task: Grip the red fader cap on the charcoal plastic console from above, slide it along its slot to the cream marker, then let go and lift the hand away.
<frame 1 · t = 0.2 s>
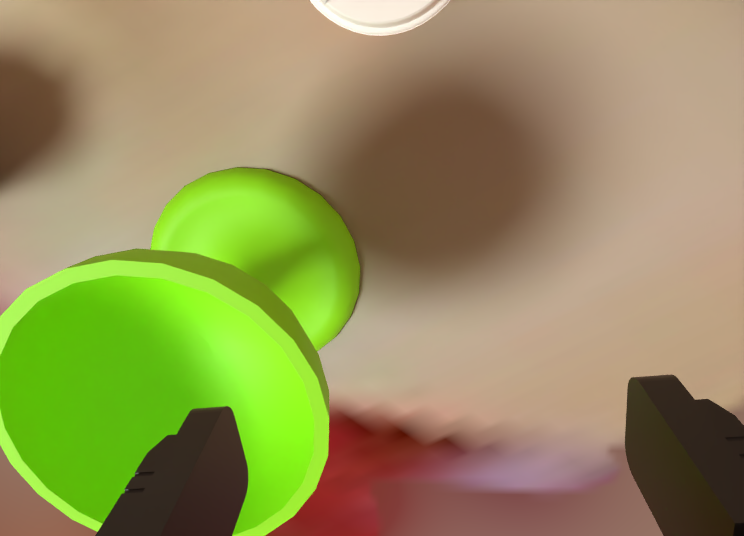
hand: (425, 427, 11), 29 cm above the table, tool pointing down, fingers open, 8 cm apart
wineglass: (255, 271, 42), on the table
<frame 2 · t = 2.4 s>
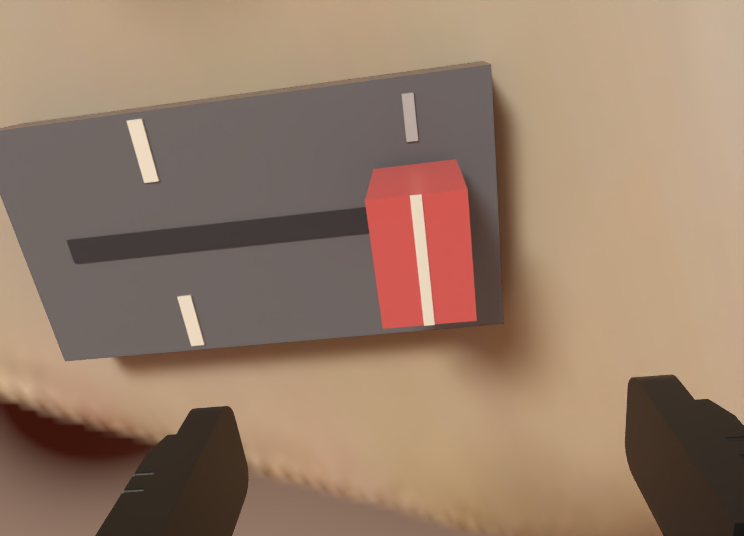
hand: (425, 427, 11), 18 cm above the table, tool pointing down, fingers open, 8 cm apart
fader: (421, 237, 22), point 6 cm above the table, slide at 0.0 cm
console: (265, 213, 29), on the table
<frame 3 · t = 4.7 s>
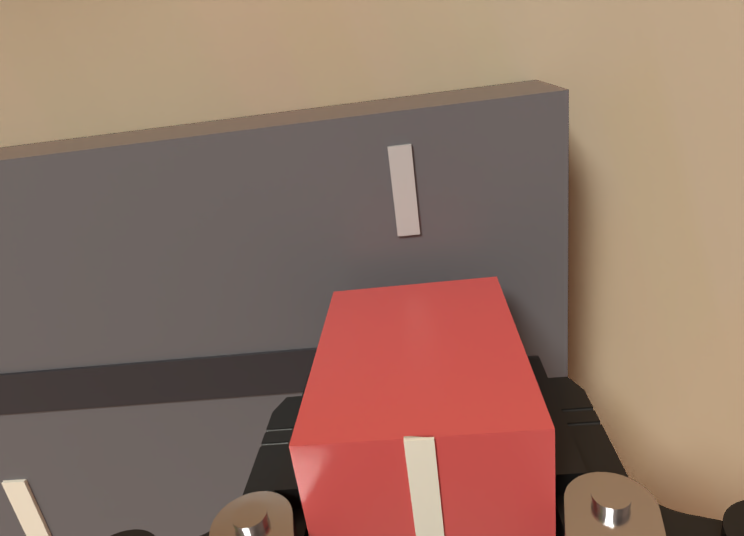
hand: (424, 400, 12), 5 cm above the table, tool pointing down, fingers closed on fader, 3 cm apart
fader: (428, 448, 11), point 6 cm above the table, slide at 0.0 cm, touching gripper
console: (162, 329, 17), on the table
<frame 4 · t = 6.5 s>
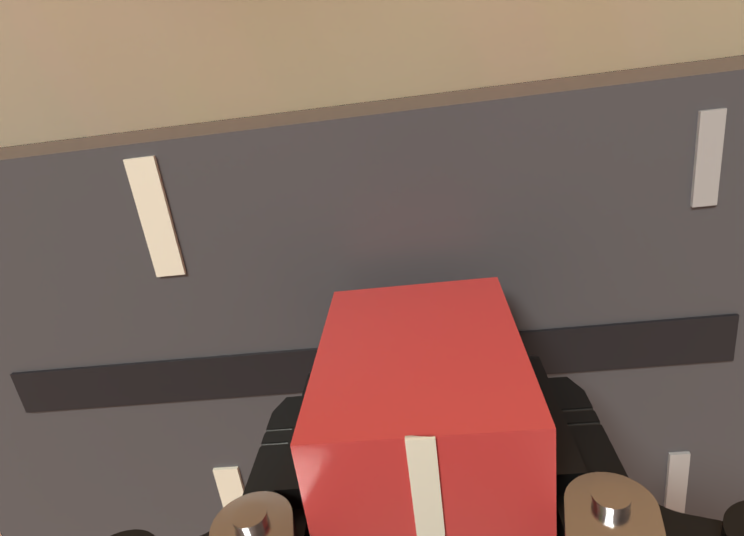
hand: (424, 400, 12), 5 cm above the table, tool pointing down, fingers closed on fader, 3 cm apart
fader: (428, 448, 11), point 6 cm above the table, slide at 6.3 cm, touching gripper
console: (363, 312, 17), on the table
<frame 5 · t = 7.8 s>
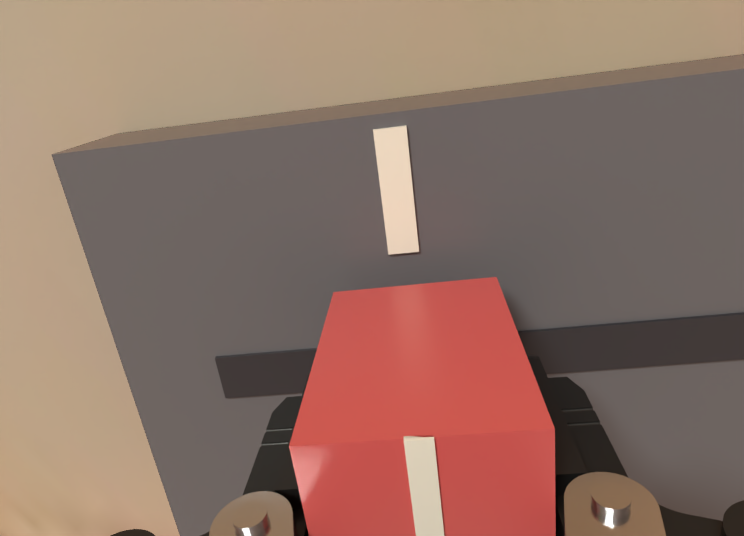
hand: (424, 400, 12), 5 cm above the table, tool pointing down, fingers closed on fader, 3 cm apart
fader: (428, 448, 11), point 6 cm above the table, slide at 11.8 cm, touching gripper
console: (552, 295, 16), on the table
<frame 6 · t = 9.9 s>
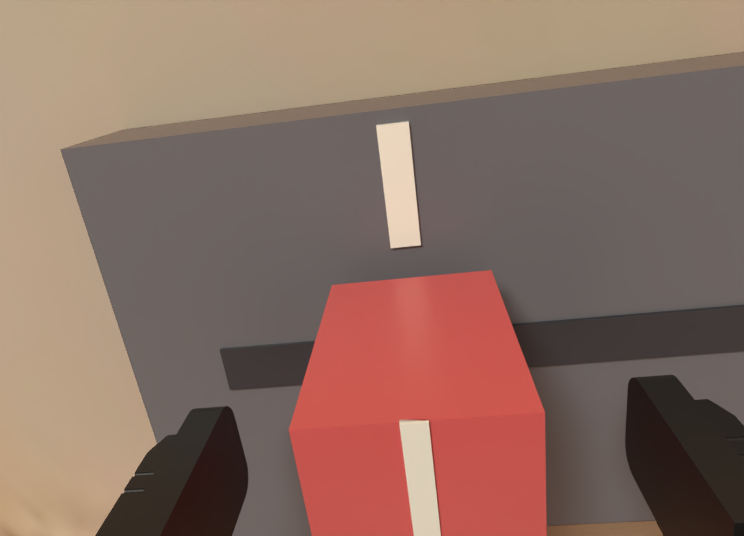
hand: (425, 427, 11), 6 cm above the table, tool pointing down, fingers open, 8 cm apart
fader: (424, 436, 11), point 6 cm above the table, slide at 11.9 cm
console: (550, 289, 16), on the table
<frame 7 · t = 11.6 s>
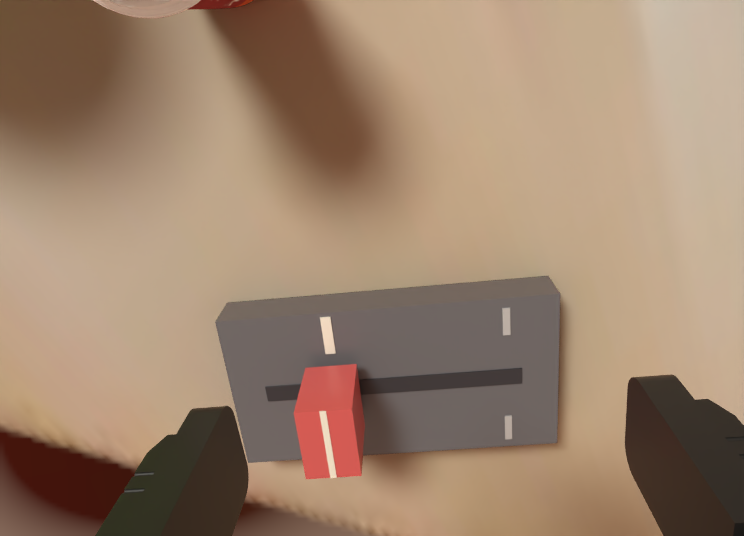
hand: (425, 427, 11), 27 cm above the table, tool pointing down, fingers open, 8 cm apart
fader: (332, 416, 37), point 6 cm above the table, slide at 11.9 cm
console: (392, 362, 42), on the table
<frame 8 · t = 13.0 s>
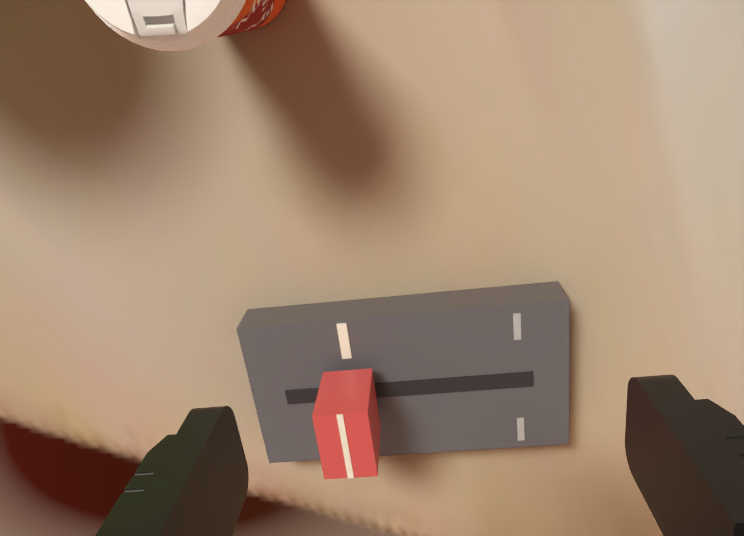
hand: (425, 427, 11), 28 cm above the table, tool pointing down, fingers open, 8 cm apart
fader: (349, 419, 38), point 6 cm above the table, slide at 11.9 cm
console: (407, 365, 43), on the table
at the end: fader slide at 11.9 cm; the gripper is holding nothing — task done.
